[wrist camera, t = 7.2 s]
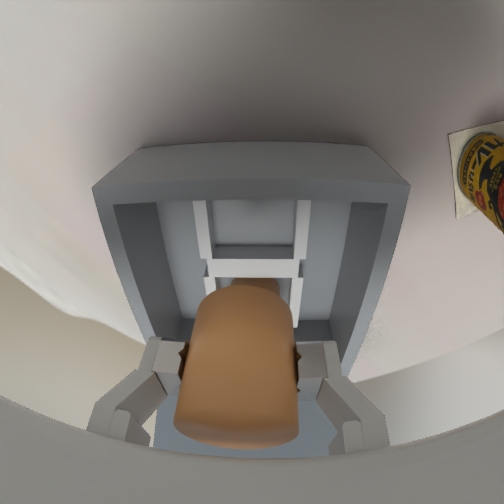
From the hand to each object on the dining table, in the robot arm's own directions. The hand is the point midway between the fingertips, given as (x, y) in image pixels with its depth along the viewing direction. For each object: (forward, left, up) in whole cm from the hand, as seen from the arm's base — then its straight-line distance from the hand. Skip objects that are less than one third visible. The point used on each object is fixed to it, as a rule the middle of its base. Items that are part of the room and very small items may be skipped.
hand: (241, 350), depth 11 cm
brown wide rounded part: (0, 0, -2) cm, 2 cm away
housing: (+3, 0, -12) cm, 12 cm away
